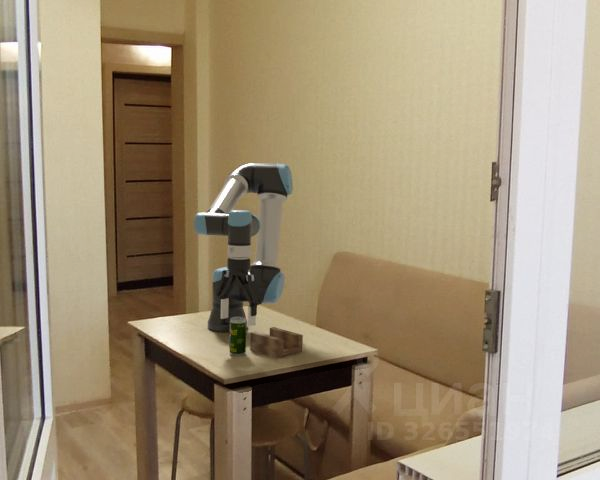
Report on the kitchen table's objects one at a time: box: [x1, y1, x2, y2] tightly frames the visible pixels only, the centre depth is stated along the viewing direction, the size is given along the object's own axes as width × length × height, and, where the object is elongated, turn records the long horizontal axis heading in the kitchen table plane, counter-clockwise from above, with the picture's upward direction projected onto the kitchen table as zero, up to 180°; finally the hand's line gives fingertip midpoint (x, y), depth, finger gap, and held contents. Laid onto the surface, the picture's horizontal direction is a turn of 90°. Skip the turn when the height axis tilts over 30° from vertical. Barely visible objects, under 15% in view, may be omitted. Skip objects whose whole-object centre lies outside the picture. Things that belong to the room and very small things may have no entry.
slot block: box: [249, 326, 304, 360], centre depth 232 cm, size 14×11×6 cm
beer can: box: [229, 317, 247, 357], centre depth 227 cm, size 5×5×12 cm
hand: (237, 321), depth 226 cm, fingers open, 13 cm apart
